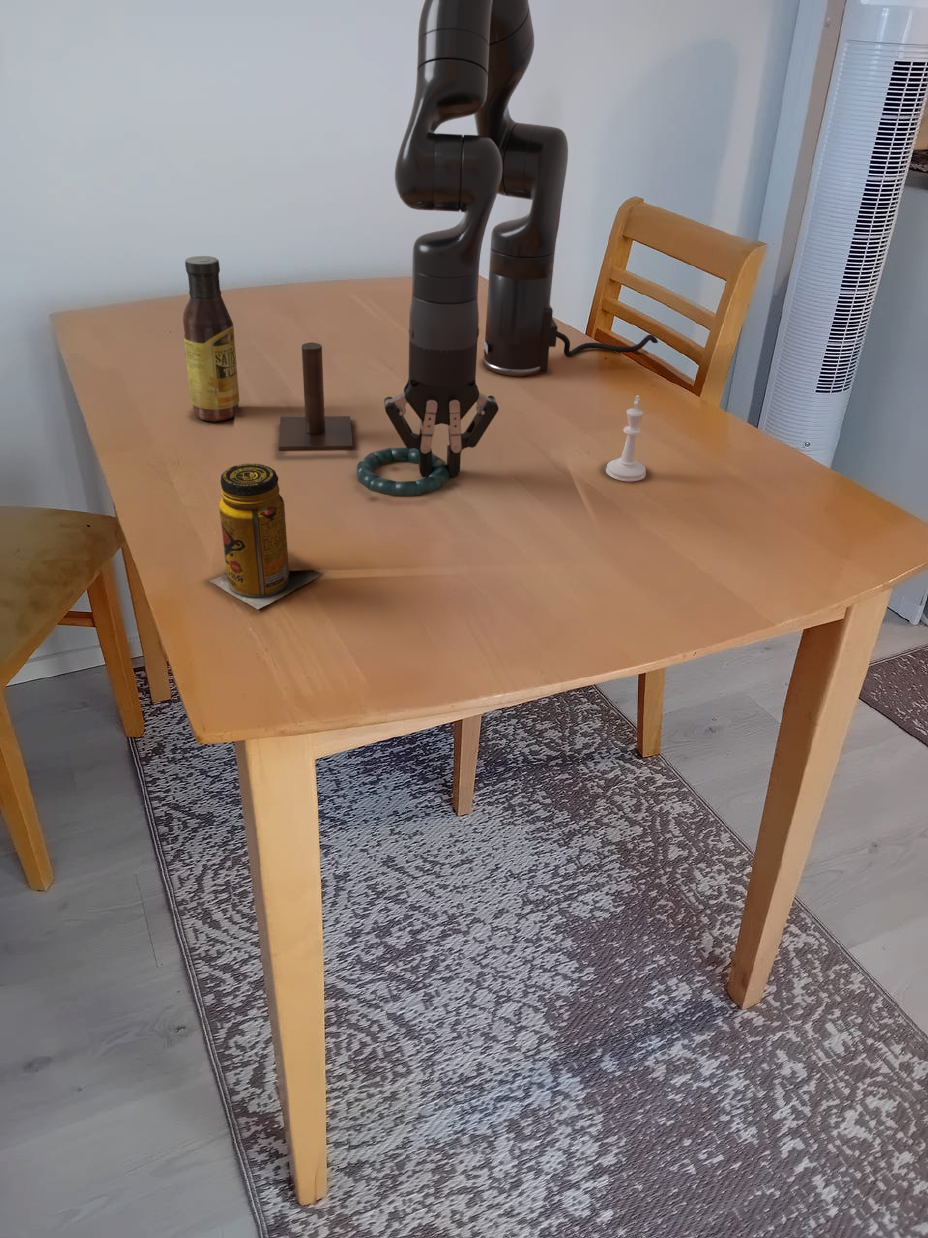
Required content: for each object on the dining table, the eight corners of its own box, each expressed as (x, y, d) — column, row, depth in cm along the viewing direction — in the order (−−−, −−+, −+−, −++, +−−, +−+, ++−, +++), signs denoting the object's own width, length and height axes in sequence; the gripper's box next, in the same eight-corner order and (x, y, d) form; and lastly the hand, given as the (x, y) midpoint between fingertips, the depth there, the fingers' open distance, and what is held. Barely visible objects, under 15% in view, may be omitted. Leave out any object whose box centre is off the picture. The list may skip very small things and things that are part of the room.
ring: (442, 458, 121) (443, 444, 120) (452, 500, 112) (453, 485, 111) (355, 460, 120) (355, 445, 119) (358, 502, 111) (358, 487, 110)
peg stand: (350, 426, 128) (348, 332, 121) (352, 456, 121) (350, 359, 114) (281, 427, 127) (274, 332, 120) (279, 457, 120) (272, 359, 113)
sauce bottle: (229, 426, 127) (213, 269, 115) (184, 420, 127) (164, 264, 116) (248, 407, 132) (235, 255, 120) (205, 401, 133) (188, 250, 121)
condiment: (209, 582, 97) (195, 473, 90) (275, 550, 102) (267, 445, 95) (257, 611, 93) (247, 500, 86) (323, 577, 99) (318, 469, 92)
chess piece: (648, 468, 122) (661, 392, 117) (641, 484, 118) (654, 407, 113) (610, 460, 123) (621, 385, 118) (601, 477, 120) (612, 399, 114)
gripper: (500, 323, 110) (491, 462, 120) (378, 323, 109) (379, 464, 119) (511, 347, 104) (500, 491, 114) (382, 347, 103) (382, 494, 113)
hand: (438, 477), depth 116 cm, fingers closed on ring, 2 cm apart
